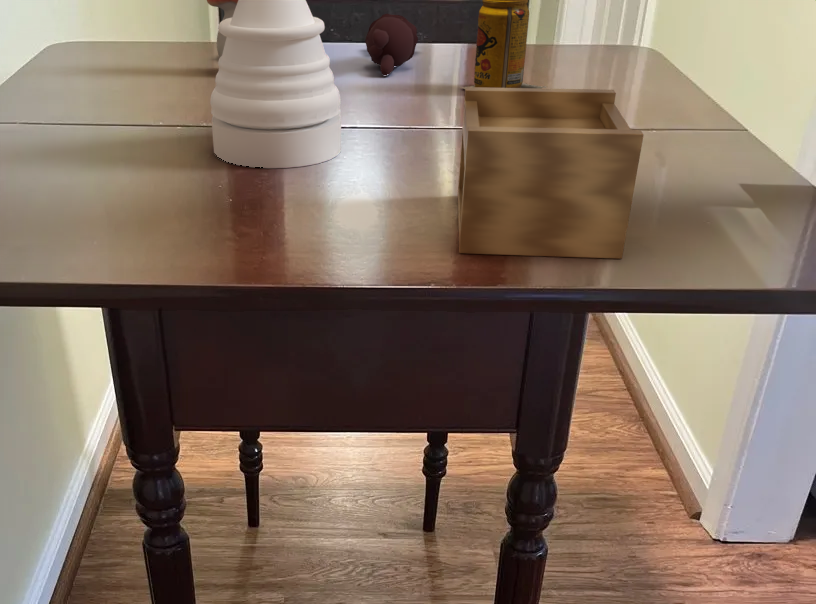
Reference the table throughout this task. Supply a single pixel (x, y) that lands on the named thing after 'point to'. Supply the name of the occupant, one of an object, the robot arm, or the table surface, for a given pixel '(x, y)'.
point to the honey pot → (275, 88)
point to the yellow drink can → (501, 44)
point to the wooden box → (545, 173)
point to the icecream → (391, 41)
